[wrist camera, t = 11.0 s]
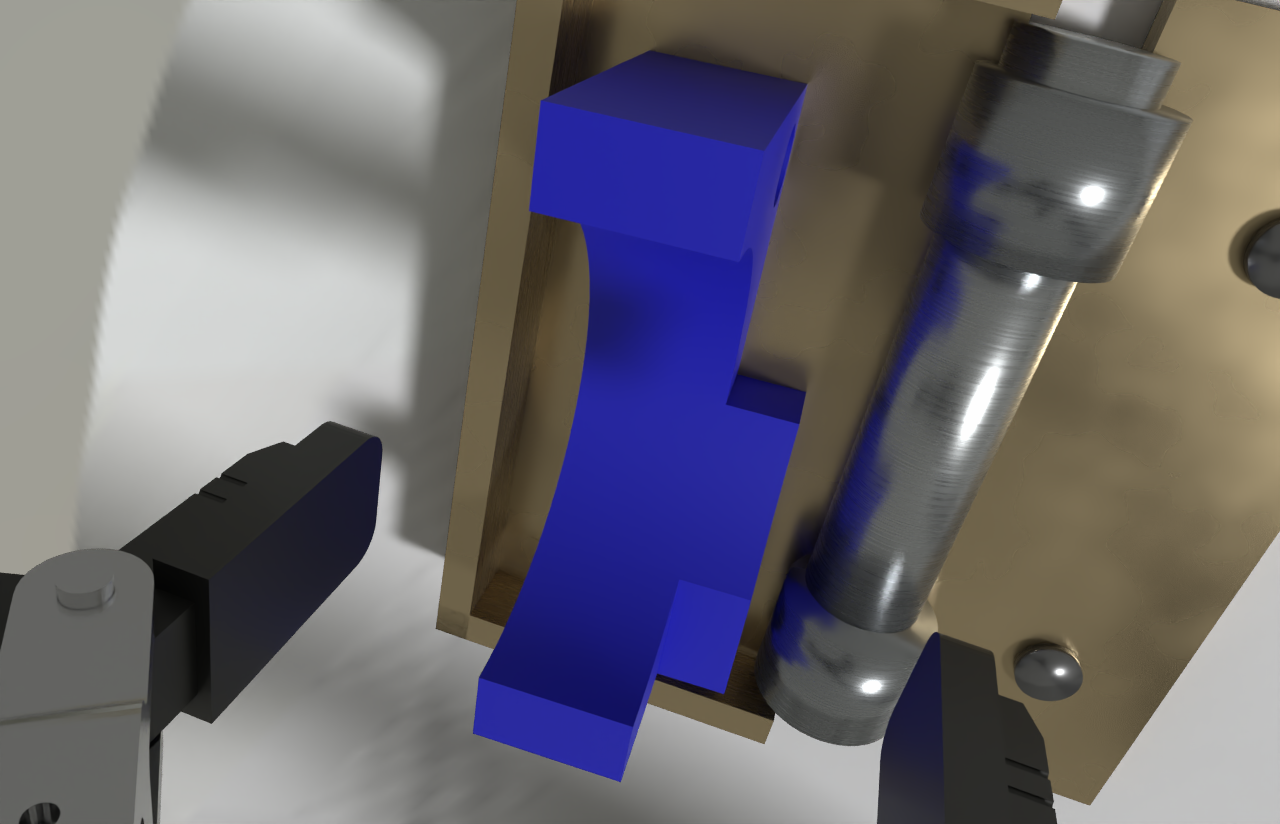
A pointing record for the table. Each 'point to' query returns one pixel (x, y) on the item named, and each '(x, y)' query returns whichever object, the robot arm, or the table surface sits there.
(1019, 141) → the hinge base
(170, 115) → the table surface
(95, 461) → the table surface
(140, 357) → the table surface
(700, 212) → the blue curved bracket
